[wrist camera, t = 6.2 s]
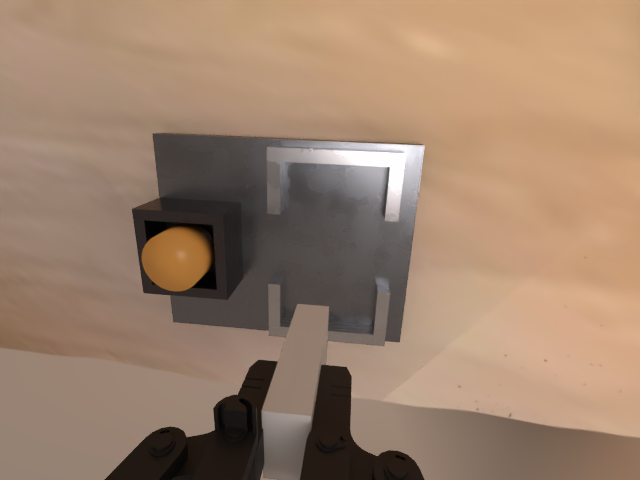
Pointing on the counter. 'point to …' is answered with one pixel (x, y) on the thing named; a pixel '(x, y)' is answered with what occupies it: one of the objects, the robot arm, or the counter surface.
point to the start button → (179, 256)
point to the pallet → (290, 230)
